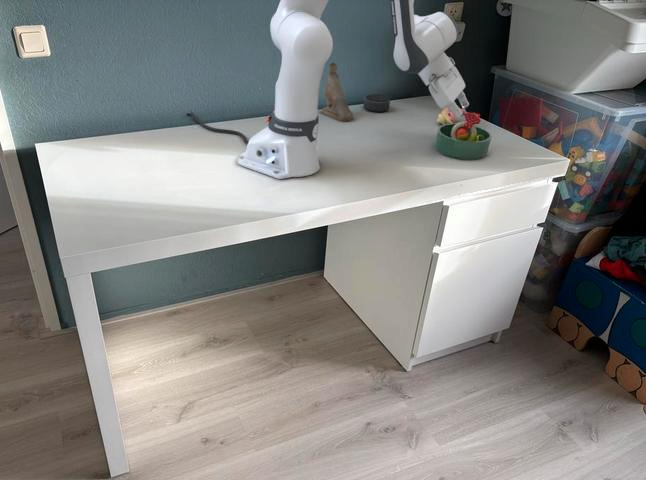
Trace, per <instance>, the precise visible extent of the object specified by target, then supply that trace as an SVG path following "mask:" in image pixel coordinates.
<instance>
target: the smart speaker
mask: <svg viewBox="0 0 646 480" xmlns="http://www.w3.org/2000/svg"><path fill="white" fill-rule="evenodd" d="M390 104H391V99H390V97H388V96H387V95H383V94H379V93H378V94H377V93H373V94H367V95H366V96H364V98H363V108H364V109H365V110H367V111H369V112H374V113H384V112H387V111H388V110H389V109H390V106H391V105H390Z"/></svg>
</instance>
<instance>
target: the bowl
mask: <svg viewBox="0 0 646 480" xmlns="http://www.w3.org/2000/svg"><path fill="white" fill-rule="evenodd" d="M457 123H458V122H457ZM457 123H453V124H447V123H446V124H445V125H443V124H441V125H440V126H439V127H438V128H437V131H436V135H435V141H434V147H435V149H436V150H437V151H438V153H440V154H442V155H444V156H445V157H449V158H451V159H455V160H462V161H463V160H465V161H472V160H480V159H482V158H484V157H485V156H487V154H488V153H489V150H490V145H491V141H492V138H493V137H492V133H491V132H490V131H488V130H487V129H485V128H482V127H480V126H477V125H474V126H475V128H476V131H477V135H476V136H478V135H482V136H483V138H482V139H479V141H476V142H470V141H466V140H467V139H468V138H469V136H470V134H471V132H470V130H469V129H467V128H466V129H467V130H468V137H467V139H465V140H463V141H461V140H456V139H453V138H451V131H452V128H453V127H454V126H455V125H456V124H457ZM460 128H465V127H460Z"/></svg>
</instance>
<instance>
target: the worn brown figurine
mask: <svg viewBox="0 0 646 480" xmlns="http://www.w3.org/2000/svg"><path fill="white" fill-rule="evenodd" d="M337 68H338V66H337V64H336V63H334V62H332V63H330V64H329V72H328V74H327V83H326V86H325V91H324V93H325V97H326V106H324V107H322V108H321V111H320V112H321V113H323V114H325V115H326V116H329V117H331V118H332V119H334V120H337V121H340V122H350V121H353V118H354V117H353V112H352V111H351V109H350V107H349V105H348V103H347V100H346V97H345V94H344V91H343V88H342V85H341V81H340V78H339V77H340V76H339V75H338V73H337Z"/></svg>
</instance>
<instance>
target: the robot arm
mask: <svg viewBox="0 0 646 480" xmlns="http://www.w3.org/2000/svg"><path fill="white" fill-rule="evenodd" d="M329 1H330V0H279V3H278V6H277V9H276V12H275V13H274V14H273V15H272V17H271V19H270V20H271V21H270V24H269V31H270V37H271V40H272V42H273V44H274V46H275V47H276V48H277V49H278V50H279V51H280V53H281V62H280V63H281V64H280V70H279V75H278V79H277V80H276V82H275V85H274V86H275V87H274V91H275V92H274V110H273V111H272V113H270V114H268V116H267V117H266V118H265V123H268V125H267V126H266V127H264V128H263V129H261V130H260V131H258V132H257V133H255V134H254V135H253V136H251V138H250V139H249V140H247V138H246V136H245V134H243V133H242V132H240V131H239V130H238V131H237V130H233V129H224V128H217V127H212V126H209V125H207V124H205V123H204V122H202V121H201V120H199V119H198V118H197V117H196V115H195V114H194V113H193V112H192V111H191V113H190V114H189V113H188V112H187V113H186V116H190V115H191V117H192V119H193V120H194V121H195V122H196V123H197V124H199V125H200V126H202V127H203V128H204V129H207V130H209V131H212V132H218V133H225V134H226V133H228V134H234V135H237V136H240V137H241V138H242V140H243V142H244V143H245V144H246V150H245V151H243V152H242V153H241V154H240V155H239V156H238V158H237V165H238V166H241V167H243V168H246V169H250V170H253V171H255V172H258V173H260V174H264V175H266V176H269V177H271V178H275V179H279V180H284V179H288V178H302V177H308V176H310V175H311V176H312V175H314V174H316V173H317V172H318V171H319V170H320V168H321V165H320V162H319V156H318V155H319V154H318V146H317V145H318V144H317V143H318V142H317V139H318V135H319V126H320V125H319V121H320V120H319V118H320V117H319V115H318V111H319V110H318V109H319V99H320V98H319V97H320V86H321V82H322V78H323V74H324V70H325V66H326V64H327V61H328V60H329V59H330V56H331V55H332V53H333V48H334V41H333V37H332V34H331V32H330V30H329V29H328V26H327V25H326V24H325V22H323V20H321V18H322V16H323V13H324V11H325V9H326V7H327V5H328V3H329ZM388 1H389V2H388V3H389V11H390V20H391V30H392V59H393V62H394V65H395V66H396V67H397V69H398V70H400V71H401V72H402V73H405V74H412V75H418V76H419V78H420V79H421V81H422V82H423V83H424V85H425V87H428V91H429V93H430V95H431V97H432V98H433V100H434V102H435V103H436V105H437V106H438V108H440V109H441V111H443V109H445V108H446V107H447V108H448V109H449V110H450V111H451V112H452V113H454V115H455V118H456V119H459V118H460V117H462V114H463V112H462V111H461V109H465V110H466V108H468V107H469V106H470V102H469V101H468V99H467V97H466V94H465V92H464V89H466V83H465V81H464V79H463V77H462V75H461V73H460V72H459V70H458V68H457V67H456V66H455V65H456V62H455V61H454V59H453V58H452V57H450V56H447V54H446V53H445V51H446V50H448V49H449V48H450V47H451V46H452V45H454V43H455V41H457V39H458V33H459V29H458V26H457V22H456V21H455V19H454V18H453V17H452V15H450V14H449V13H447V12H446V11H445V12H444V11H436V12H435V13H434V12H433V13H432V14H428V15H425V16H424V15H423V16H420V15H418V14H415V12H414V11H415V10H414V3H415V0H388ZM456 99H457V100H458V101H459V103H460V105H459V106H461V107H462V108H461V109H459V108H460V107H459V106H458V105H457V103H456V102H455V101H456ZM456 105H457V106H458V107H459V108H458V107H457V106H456Z"/></svg>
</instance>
